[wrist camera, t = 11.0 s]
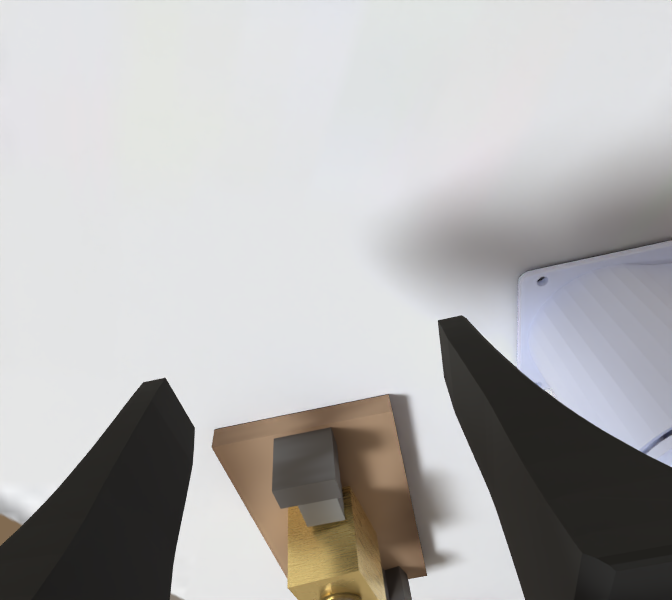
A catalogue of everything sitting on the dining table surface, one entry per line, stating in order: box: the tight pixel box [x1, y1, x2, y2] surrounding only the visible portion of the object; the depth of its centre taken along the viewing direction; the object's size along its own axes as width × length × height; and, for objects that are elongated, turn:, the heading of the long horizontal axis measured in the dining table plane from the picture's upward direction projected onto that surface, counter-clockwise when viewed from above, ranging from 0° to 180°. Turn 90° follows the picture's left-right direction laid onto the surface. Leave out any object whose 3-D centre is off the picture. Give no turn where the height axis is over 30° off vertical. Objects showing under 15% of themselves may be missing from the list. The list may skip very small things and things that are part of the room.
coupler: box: [288, 486, 386, 600], centre depth 29 cm, size 6×4×6 cm, turn 19°
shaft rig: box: [212, 394, 427, 600], centre depth 31 cm, size 10×19×4 cm, turn 12°
